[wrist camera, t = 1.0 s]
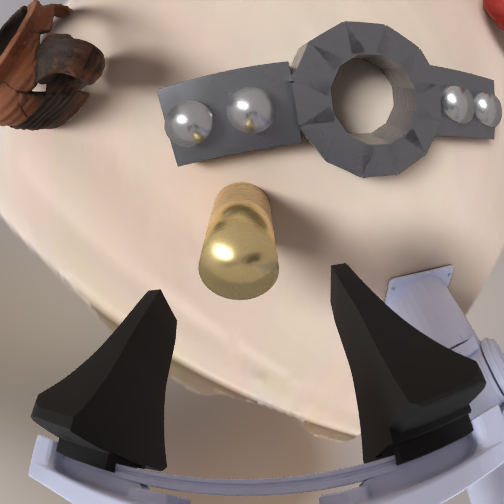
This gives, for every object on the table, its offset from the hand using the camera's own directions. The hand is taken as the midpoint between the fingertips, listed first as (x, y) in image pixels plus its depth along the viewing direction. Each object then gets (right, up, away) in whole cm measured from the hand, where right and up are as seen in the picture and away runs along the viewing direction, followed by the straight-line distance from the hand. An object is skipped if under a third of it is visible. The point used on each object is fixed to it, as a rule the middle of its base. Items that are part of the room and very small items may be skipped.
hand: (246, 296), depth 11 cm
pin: (0, +5, +8) cm, 10 cm away
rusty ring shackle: (-13, +15, +1) cm, 20 cm away
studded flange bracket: (+7, +12, +3) cm, 14 cm away
